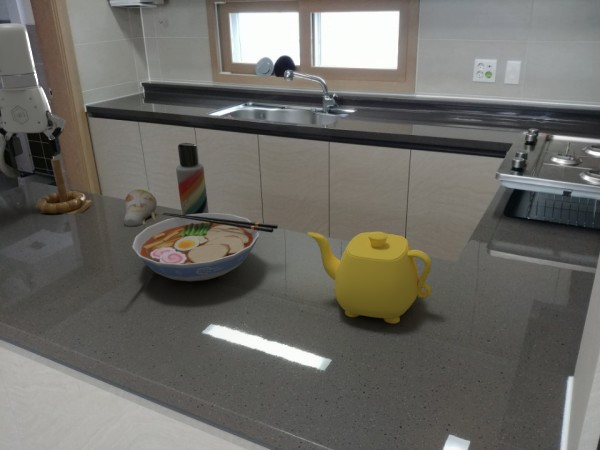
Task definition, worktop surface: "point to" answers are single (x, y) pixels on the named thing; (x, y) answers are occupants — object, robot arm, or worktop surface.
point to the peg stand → (64, 187)
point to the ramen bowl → (198, 244)
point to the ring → (50, 205)
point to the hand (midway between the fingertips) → (37, 155)
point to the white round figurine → (139, 207)
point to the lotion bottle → (191, 181)
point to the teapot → (376, 275)
